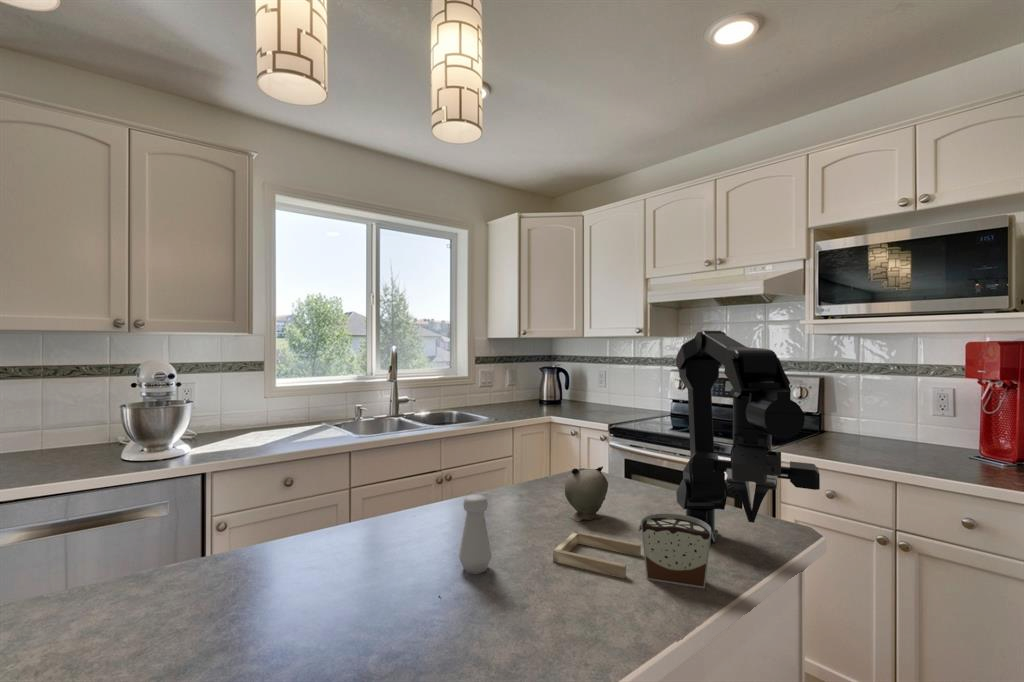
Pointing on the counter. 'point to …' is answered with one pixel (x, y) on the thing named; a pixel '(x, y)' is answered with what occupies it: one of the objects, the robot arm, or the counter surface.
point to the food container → (676, 548)
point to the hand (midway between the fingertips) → (751, 521)
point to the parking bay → (591, 563)
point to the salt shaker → (475, 536)
